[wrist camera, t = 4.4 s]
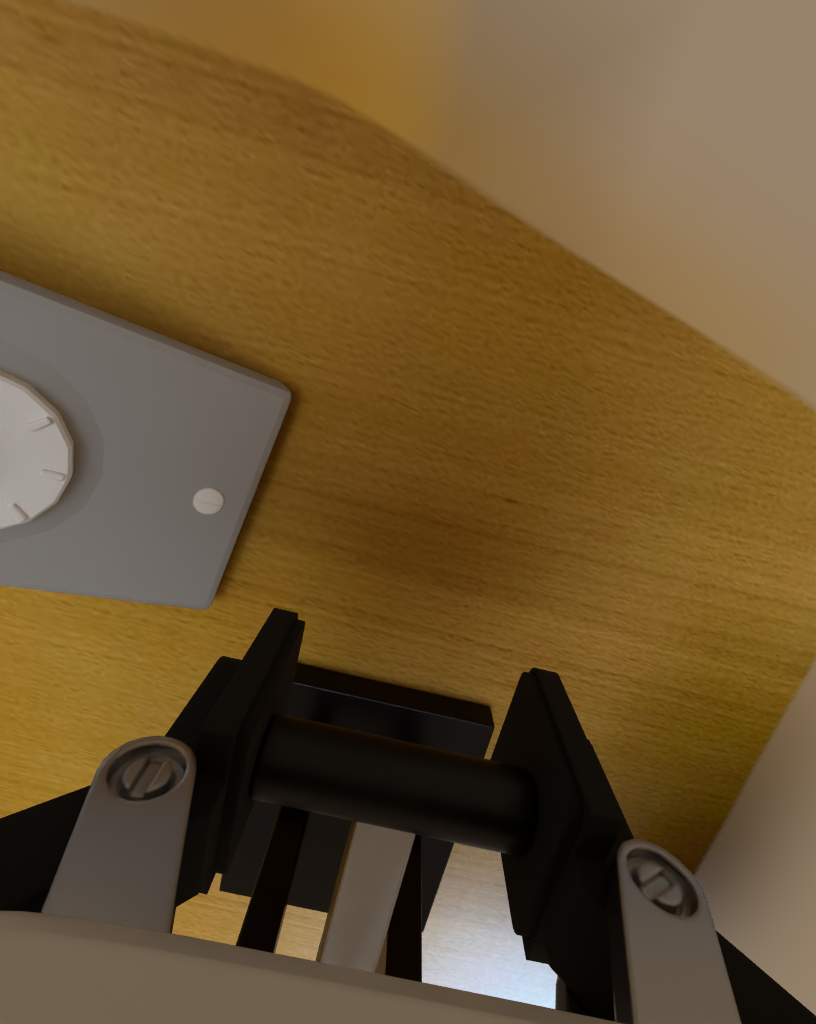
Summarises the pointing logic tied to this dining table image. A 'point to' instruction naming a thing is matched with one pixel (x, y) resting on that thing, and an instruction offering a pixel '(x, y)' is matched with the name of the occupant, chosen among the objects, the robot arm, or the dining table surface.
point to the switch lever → (387, 814)
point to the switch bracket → (322, 839)
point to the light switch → (122, 453)
